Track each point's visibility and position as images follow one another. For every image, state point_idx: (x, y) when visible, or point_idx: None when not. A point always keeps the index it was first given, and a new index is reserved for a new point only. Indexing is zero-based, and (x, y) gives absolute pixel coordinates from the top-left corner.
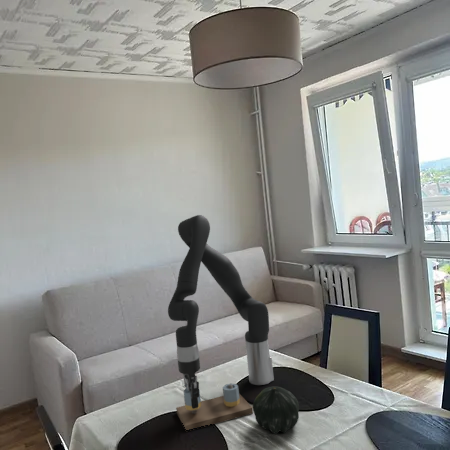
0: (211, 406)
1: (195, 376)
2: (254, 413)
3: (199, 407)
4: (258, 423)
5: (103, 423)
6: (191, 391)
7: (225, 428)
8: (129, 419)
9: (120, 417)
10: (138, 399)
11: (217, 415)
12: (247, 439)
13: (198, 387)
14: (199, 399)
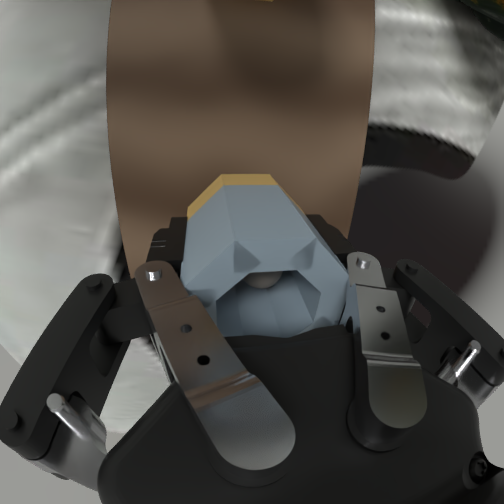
0: (220, 81)
1: (476, 428)
2: (495, 17)
3: (285, 191)
4: (501, 39)
5: (140, 417)
6: (416, 352)
7: (409, 101)
8: (135, 386)
9: (117, 397)
10: (16, 349)
11: (354, 96)
12: (485, 90)
13: (485, 326)
14: (294, 205)
